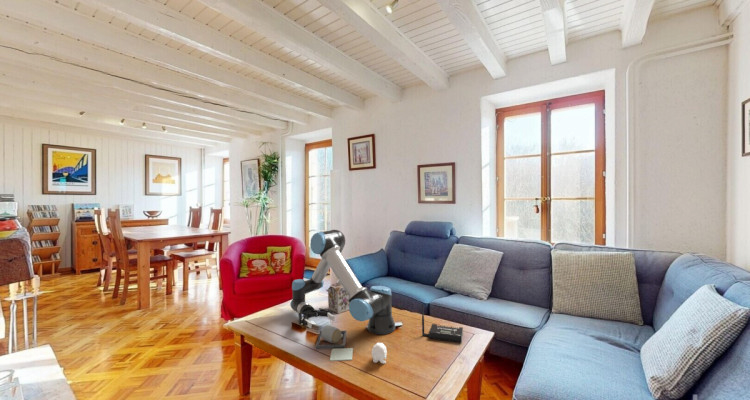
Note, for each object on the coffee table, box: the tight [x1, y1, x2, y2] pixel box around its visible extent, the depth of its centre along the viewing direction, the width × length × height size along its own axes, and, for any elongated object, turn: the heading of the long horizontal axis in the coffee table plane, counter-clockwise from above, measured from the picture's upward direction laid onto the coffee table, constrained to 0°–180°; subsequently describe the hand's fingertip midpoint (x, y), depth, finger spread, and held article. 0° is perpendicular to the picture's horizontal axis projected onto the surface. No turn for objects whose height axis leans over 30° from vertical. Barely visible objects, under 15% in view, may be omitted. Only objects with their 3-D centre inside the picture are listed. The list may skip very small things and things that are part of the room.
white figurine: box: [371, 342, 388, 365], centre depth 142 cm, size 6×8×12 cm
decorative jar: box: [327, 280, 350, 314], centre depth 203 cm, size 12×12×18 cm
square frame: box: [315, 330, 348, 350], centre depth 160 cm, size 14×16×2 cm
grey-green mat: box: [329, 347, 354, 362], centre depth 147 cm, size 10×10×1 cm
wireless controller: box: [421, 303, 464, 344], centre depth 163 cm, size 20×14×17 cm
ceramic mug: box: [321, 324, 344, 344], centre depth 161 cm, size 11×8×8 cm
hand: (322, 322), depth 168 cm, fingers open, 13 cm apart
